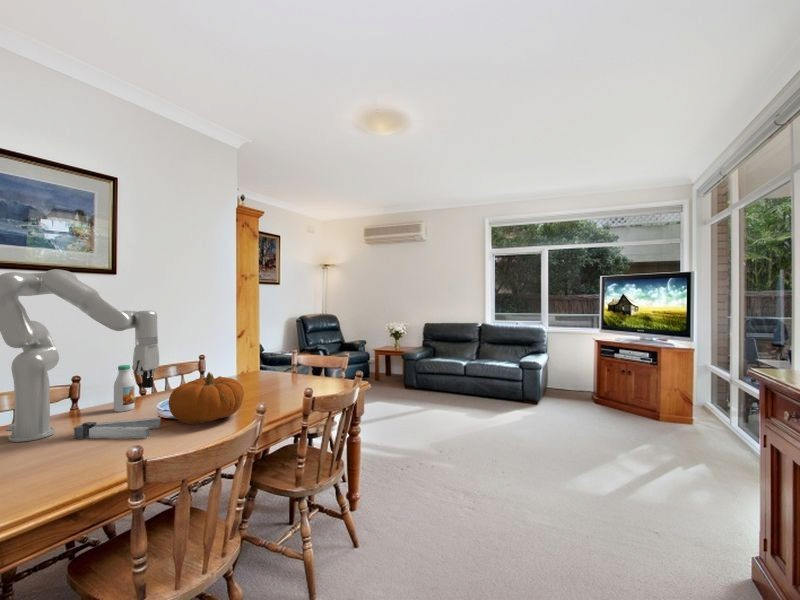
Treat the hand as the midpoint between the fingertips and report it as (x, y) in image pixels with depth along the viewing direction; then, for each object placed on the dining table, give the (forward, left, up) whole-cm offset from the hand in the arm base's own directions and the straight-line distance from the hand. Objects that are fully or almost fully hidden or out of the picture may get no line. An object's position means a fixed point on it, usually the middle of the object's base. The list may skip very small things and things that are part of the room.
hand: (147, 387), depth 159 cm
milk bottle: (-23, +20, -15) cm, 35 cm away
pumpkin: (+20, +8, -15) cm, 27 cm away
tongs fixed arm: (-4, -13, -15) cm, 20 cm away
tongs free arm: (-3, -7, -15) cm, 17 cm away
